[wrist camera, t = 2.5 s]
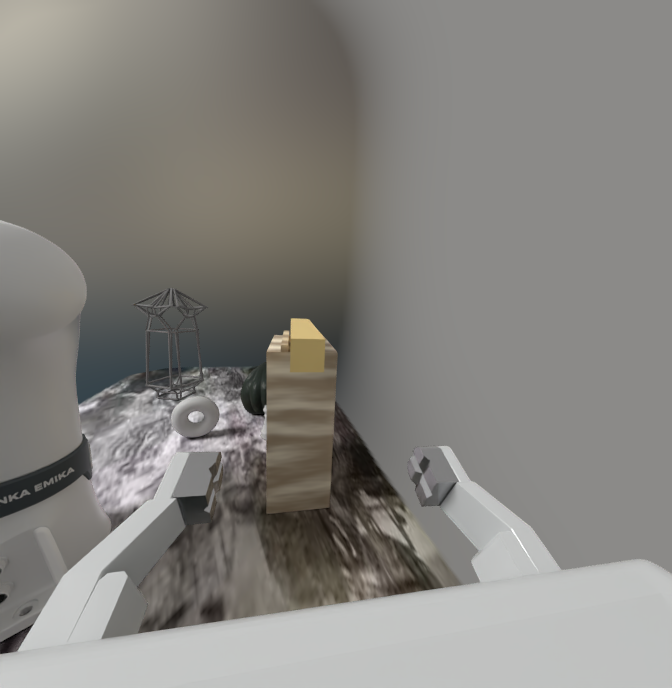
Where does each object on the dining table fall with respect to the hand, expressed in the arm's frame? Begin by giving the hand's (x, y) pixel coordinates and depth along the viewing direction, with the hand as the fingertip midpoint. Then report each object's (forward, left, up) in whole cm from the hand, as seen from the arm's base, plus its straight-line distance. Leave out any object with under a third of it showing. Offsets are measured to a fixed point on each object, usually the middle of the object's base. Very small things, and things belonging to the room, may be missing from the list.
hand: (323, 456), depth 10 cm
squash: (+39, +50, -27) cm, 69 cm away
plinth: (+24, +23, -27) cm, 43 cm away
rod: (+20, +20, -1) cm, 28 cm away
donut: (+19, +51, -27) cm, 61 cm away
